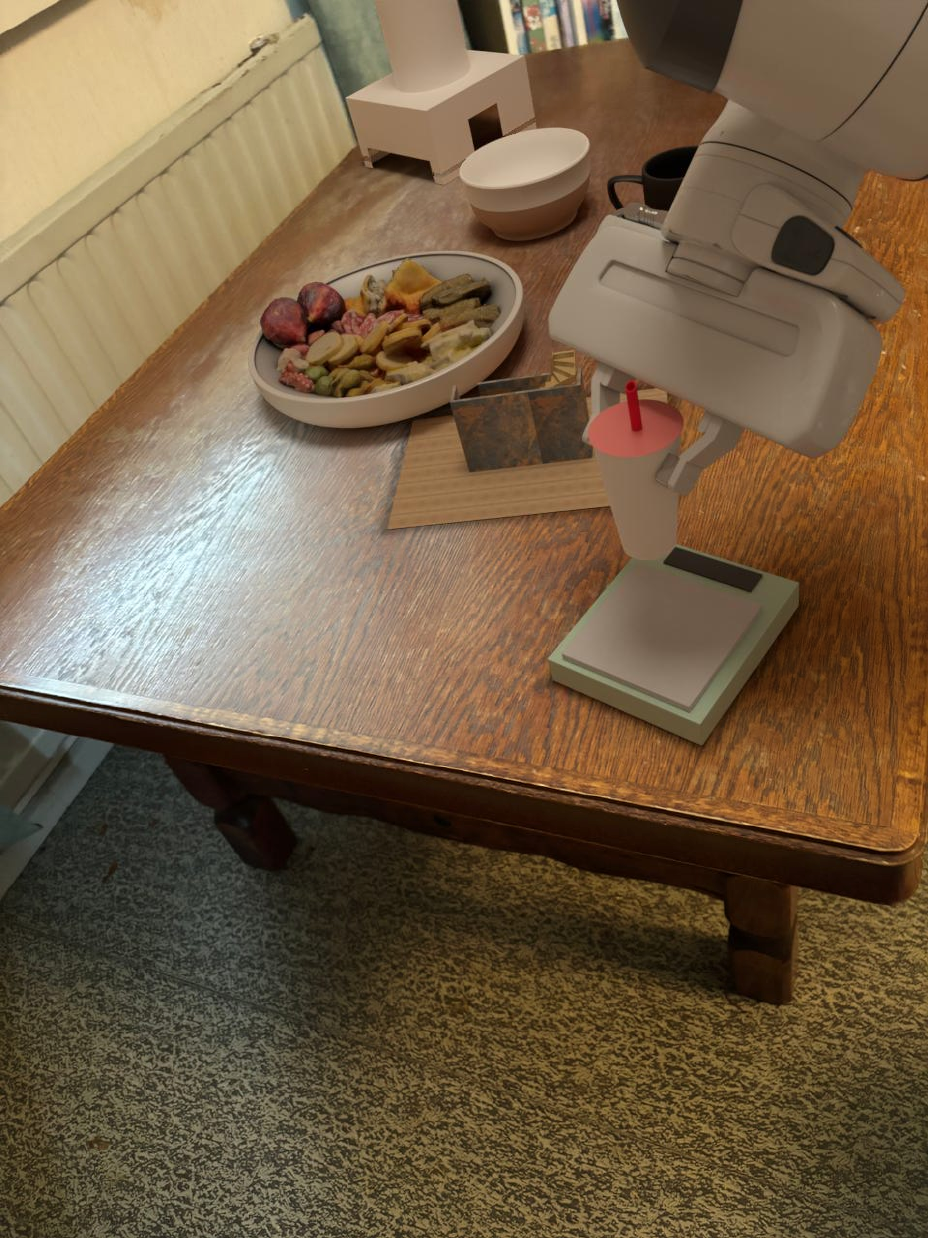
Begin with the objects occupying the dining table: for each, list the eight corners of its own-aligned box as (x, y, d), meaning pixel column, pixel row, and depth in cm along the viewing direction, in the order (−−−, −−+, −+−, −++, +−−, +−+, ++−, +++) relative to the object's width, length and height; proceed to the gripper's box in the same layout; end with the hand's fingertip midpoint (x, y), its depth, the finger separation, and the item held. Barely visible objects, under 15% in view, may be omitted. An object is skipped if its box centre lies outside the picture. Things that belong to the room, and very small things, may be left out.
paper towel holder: (365, 166, 148) (298, -64, 127) (454, 115, 154) (404, -112, 133) (443, 184, 136) (383, -65, 115) (536, 128, 142) (495, -118, 121)
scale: (799, 606, 69) (799, 576, 67) (702, 746, 63) (699, 718, 61) (652, 557, 76) (649, 529, 74) (552, 680, 70) (545, 653, 68)
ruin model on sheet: (666, 386, 91) (657, 292, 84) (673, 499, 80) (664, 400, 73) (413, 420, 97) (385, 334, 90) (387, 529, 86) (353, 441, 79)
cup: (665, 581, 58) (647, 418, 50) (590, 557, 61) (561, 399, 53) (708, 526, 61) (697, 362, 52) (634, 505, 64) (612, 346, 55)
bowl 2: (598, 180, 125) (590, 116, 120) (597, 237, 115) (588, 170, 109) (478, 202, 129) (465, 142, 124) (467, 260, 118) (451, 196, 113)
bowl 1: (557, 279, 109) (545, 212, 104) (491, 440, 90) (472, 367, 85) (323, 300, 120) (302, 240, 115) (220, 448, 101) (188, 383, 96)
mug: (622, 236, 113) (612, 154, 107) (727, 226, 109) (724, 140, 103) (610, 271, 108) (599, 187, 102) (720, 263, 104) (716, 175, 97)
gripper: (583, 174, 57) (488, 395, 61) (884, 259, 44) (737, 534, 48) (645, 215, 61) (553, 418, 65) (935, 303, 48) (797, 551, 52)
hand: (632, 468), depth 56 cm, fingers closed on cup, 5 cm apart
